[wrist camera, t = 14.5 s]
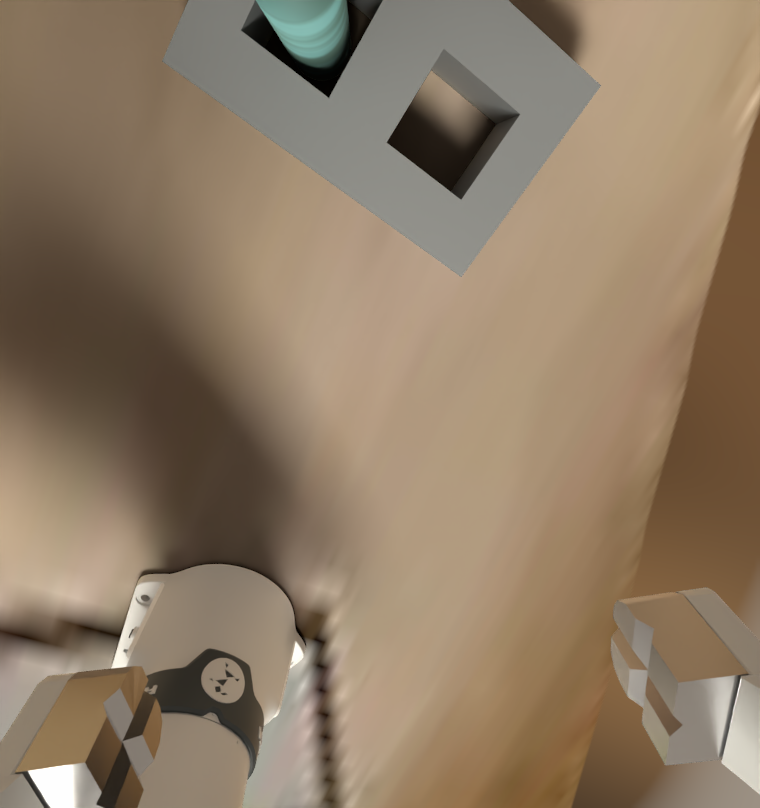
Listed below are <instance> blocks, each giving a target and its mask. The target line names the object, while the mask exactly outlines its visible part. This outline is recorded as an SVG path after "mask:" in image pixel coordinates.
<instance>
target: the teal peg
mask: <svg viewBox="0 0 760 808" xmlns="http://www.w3.org/2000/svg"><path fill="white" fill-rule="evenodd" d="M256 1H257V3H258V4H259V6H260V8H261V9H262V11H263V12H264V14H265V16H266V17H267V19H268V20H269V22H270V24H271V25H272V27H273V29H274V30H275V32H276V33H277V35H278V37H279V38H280V40H281V41H282V43H283V45H284V46H285V48H286V49H287V51H288V53H289V54H290V56H291V57H292V59H293V61H294V62H295V64H296V65H297V67H298V68H299V69H300V71H301V72H302V73H304V74H305V75H306V76H308V77H309V78H311V79H314V80H319V81H326V80H330V79H333V78H335V77H336V76H338V75H339V74H340V73H341V72H342V71H343V70H344V69H345V67H346V66H347V64H348V61H349V59H350V55H351V34H350V26H349V17H348V8H347V0H256Z"/></svg>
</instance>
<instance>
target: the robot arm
mask: <svg viewBox="0 0 760 808" xmlns="http://www.w3.org/2000/svg"><path fill="white" fill-rule="evenodd" d="M147 595H148V596H147ZM613 618H614V620H615V622H616V623H617V625H618V627H619V628H618V630H617V631H616V632H615V633H614V634H613V635H612V636H611V655H612V659H613V664H614V669H615V671H616V673H617V676H618V679H619V681H620V683H621V685H622V687H623V689H624V691H625V693H626V695H627V696H628V697H629V698H630V699H632V700H633V701H635V702H636V703H637V704H639V705H640V706H642V707H643V708H644V709H643V717H642V724H643V726H644V727H645V729H646V731H647V733H648V735H649V737H650V738H651V740H652V742H653V744H654V745H655V747H656V749H657V751H658V753H659V755H660V756H661V758H662V760H663V762H664V764H665V765H674V764H683V763H692V762H702V761H712V760H722V764H724V765H725V766H726V767H727V768H728V769H730V770H731V771H732V772H733V773H735V774H736V775H737V776H738V777H739V778H741V779H742V780H743V781H744V782H745V783H747V784H748V785H749V786H750V787H751V788H753V789H754V790H755V791H756V792H758V793H759V794H760V641H759V640H758V639H757V637H756V636H755V635H754V634H753V633H752V632H751V631H750V630H749V629H748V628H747V626H746V625H745V624H744V623H743V622H742V621H741V620H740V619H739V618H738V617H737V616H736V614H735V613H734V612H733V611H732V610H731V609H730V608H729V607H728V606H727V605H726V604H725V603H724V602H723V600H722V599H721V598H720V597H719V596H718V595H717V594H716V593H715V592H714V591H712V590H710V589H708V588H700V589H692V590H685V591H679V592H675V593H674V592H669V593H663V594H656V595H649V596H642V597H635V598H629V599H622V600H617V602H616V603H615V605H614V610H613ZM305 649H306V647H305V644H304V642H303V640H302V639H301V637H300V636H299V634H298V633H297V631H296V628H295V617H294V612H293V608H292V605H291V603H290V601H289V599H288V598H287V596H286V595H285V594H284V592H283V591H282V590H281V589H280V588H279V587H278V586H277V585H276V584H274V583H273V582H272V581H270V580H269V579H268V578H266V577H264V576H262V575H261V574H259V573H256V572H254V571H252V570H249V569H246V568H242V567H238V566H233V565H226V564H207V565H200V566H195V567H192V568H188V569H186V570H183V571H180V572H177V573H173V574H148V575H144V576H142V577H141V578H140V579H139V580H138V583H137V585H136V588H135V591H134V594H133V598H132V601H131V604H130V608H129V611H128V614H127V617H126V621H125V624H124V627H123V631H122V634H121V637H120V641H119V644H118V647H117V651H116V654H115V657H114V660H113V664H112V667H111V669H102V670H93V671H84V672H77V673H69V674H60V675H52V676H48V677H46V678H45V679H44V680H42V681H41V682H40V683H39V684H38V685H37V686H36V688H35V689H34V691H33V692H32V694H31V696H30V697H29V699H28V700H27V702H26V703H25V705H24V707H23V708H22V710H21V711H20V713H19V714H18V716H17V717H16V719H15V721H14V722H13V724H12V725H11V727H10V728H9V730H8V732H7V733H6V735H5V736H4V738H3V739H2V741H1V742H0V808H242V805H243V800H244V794H245V789H246V784H247V780H248V779H249V777H250V776H251V774H252V773H253V770H254V768H255V764H256V760H257V758H258V755H259V752H260V748H261V743H262V732H263V726H264V725H265V724H267V723H268V722H270V721H271V719H272V718H273V717H276V716H277V715H278V713H279V711H280V708H281V704H282V700H283V696H284V691H285V687H286V683H287V679H288V674H289V670H290V668H291V667H293V666H294V665H295V664H297V663H298V662H299V661H301V660H302V658H303V657H304V653H305Z"/></svg>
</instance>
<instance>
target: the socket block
mask: <svg viewBox="0 0 760 808" xmlns="http://www.w3.org/2000/svg"><path fill="white" fill-rule="evenodd" d="M348 1H349V2H350V3H351V4H353V5H354V6H355V7H356V8H357V9H359V10H360V11H361V12H362V13H363V14H365V15H366V16H367V17H368V18H369V19H371V20H372V21H371V23H370V24H369V26H368V28H367V30H366V32H365V33H364V35H363V37H362V39H361V41H360V42H359V44H358V46H357V48H356V50H355V51H354V53H353V55H352V57H351V59H350V61H349V62H348V64H347V66H346V68H345V70H344V71H343V73H342V75H341V77H340V79H339V80H338V82H337V84H336V86H335V88H334V89H333V91H332V93H331V95H330V97H329V98H328V97H327V96H326V95H324V94H323V93H322V92H320V91H319V90H318V89H316V88H315V87H314V86H313V85H311V84H310V83H309V82H307V81H306V80H305V79H303V78H302V77H301V76H300V75H298V74H297V73H296V72H294V71H293V70H292V69H290V68H289V67H288V66H287V65H285V64H284V63H283V62H281V61H280V60H279V59H277V58H276V57H275V56H274V55H272V54H271V53H270V52H268V51H267V50H266V49H265V48H266V46H267V44H268V42H269V40H270V38H271V35H272V33H273V31H274V29H273V27H272V25H271V24H270V22H269V20H268V19H267V17H266V16H265V14H264V12H263V11H262V9H261V8H260V6H259V4H258V3H257V1H256V0H188V3H187V5H186V7H185V9H184V12H183V14H182V16H181V19H180V21H179V23H178V26H177V28H176V30H175V33H174V35H173V37H172V40H171V42H170V44H169V47H168V49H167V51H166V54H165V56H164V58H163V62H164V63H165V64H167V65H168V66H169V67H171V68H172V69H174V70H175V71H176V72H178V73H179V74H181V75H182V76H183V77H185V78H186V79H188V80H189V81H190V82H192V83H193V84H194V85H196V86H197V87H199V88H200V89H201V90H203V91H204V92H206V93H207V94H208V95H210V96H211V97H212V98H214V99H215V100H217V101H218V102H219V103H221V104H222V105H224V106H225V107H226V108H228V109H229V110H230V111H232V112H233V113H235V114H236V115H237V116H239V117H240V118H242V119H243V120H244V121H246V122H247V123H248V124H250V125H251V126H253V127H254V128H255V129H257V130H258V131H260V132H261V133H262V134H264V135H265V136H266V137H268V138H269V139H271V140H272V141H273V142H275V143H276V144H278V145H279V146H280V147H282V148H283V149H285V150H286V151H287V152H289V153H290V154H291V155H293V156H294V157H296V158H297V159H298V160H300V161H301V162H303V163H304V164H305V165H307V166H308V167H309V168H311V169H312V170H314V171H315V172H316V173H318V174H319V175H321V176H322V177H323V178H325V179H326V180H327V181H329V182H330V183H332V184H333V185H334V186H336V187H337V188H339V189H340V190H341V191H343V192H344V193H345V194H347V195H348V196H350V197H351V198H352V199H354V200H355V201H357V202H358V203H359V204H361V205H362V206H363V207H365V208H366V209H368V210H369V211H370V212H372V213H373V214H375V215H376V216H377V217H379V218H380V219H382V220H383V221H384V222H386V223H387V224H388V225H390V226H391V227H393V228H394V229H395V230H397V231H398V232H400V233H401V234H402V235H404V236H405V237H406V238H408V239H409V240H411V241H412V242H413V243H415V244H416V245H418V246H419V247H420V248H422V249H423V250H424V251H426V252H427V253H429V254H430V255H431V256H433V257H434V258H436V259H437V260H438V261H440V262H441V263H442V264H444V265H445V266H447V267H448V268H449V269H451V270H452V271H454V272H455V273H456V274H458V275H459V276H460V277H462V276H463V274H464V273H465V271H466V270H467V269H468V267H469V266H470V265H471V263H472V262H473V260H474V259H475V258H476V256H477V255H478V254H479V252H480V251H481V249H482V248H483V247H484V245H485V244H486V243H487V241H488V240H489V238H490V237H491V236H492V234H493V233H494V232H495V230H496V229H497V228H498V226H499V225H500V223H501V222H502V221H503V219H504V218H505V217H506V215H507V214H508V212H509V211H510V210H511V208H512V207H513V206H514V204H515V203H516V201H517V200H518V199H519V197H520V196H521V195H522V193H523V192H524V191H525V189H526V188H527V186H528V185H529V184H530V182H531V181H532V180H533V178H534V177H535V175H536V174H537V173H538V171H539V170H540V169H541V167H542V166H543V164H544V163H545V162H546V160H547V159H548V158H549V156H550V155H551V154H552V152H553V151H554V149H555V148H556V147H557V145H558V144H559V143H560V141H561V140H562V138H563V137H564V136H565V134H566V133H567V132H568V130H569V129H570V127H571V126H572V125H573V123H574V122H575V121H576V119H577V118H578V116H579V115H580V114H581V112H582V111H583V110H584V108H585V107H586V106H587V104H588V103H589V101H590V100H591V99H592V97H593V96H594V95H595V93H596V92H597V90H598V89H599V88H600V86H601V85H600V84H599V83H598V82H596V81H595V80H594V79H593V78H592V77H591V76H590V75H589V74H588V73H587V72H586V71H585V70H583V69H582V68H581V67H580V66H579V65H578V64H577V63H576V62H575V61H574V60H573V59H572V58H570V57H569V56H568V55H567V54H566V53H565V52H564V51H563V50H562V49H561V48H560V47H559V46H557V45H556V44H555V43H554V42H553V41H552V40H551V39H550V38H549V37H548V36H547V35H545V34H544V33H543V32H542V31H541V30H540V29H539V28H538V27H537V26H536V25H535V24H534V23H532V22H531V21H530V20H529V19H528V18H527V17H526V16H525V15H524V14H523V13H522V12H521V11H519V10H518V9H517V8H516V7H515V6H514V5H513V4H512V3H511V2H510V1H509V0H348ZM431 70H432V71H433V72H434V73H435V74H436V75H438V76H439V77H440V78H441V79H442V80H444V81H445V82H446V83H447V84H448V85H450V86H451V87H452V88H453V89H454V90H456V91H457V92H458V93H459V94H460V95H462V96H463V97H464V98H465V99H466V100H468V101H469V102H470V103H471V104H472V105H474V106H475V107H476V108H477V109H478V110H480V111H481V112H482V113H483V114H484V115H486V116H487V117H488V118H489V119H490V120H492V121H493V122H494V123H495V124H496V125H495V127H494V128H493V130H492V131H491V133H490V134H489V136H488V137H487V139H486V140H485V141H484V143H483V144H482V146H481V147H480V149H479V150H478V152H477V153H476V155H475V156H474V158H473V159H472V161H471V162H470V164H469V165H468V167H467V168H466V170H465V171H464V172H463V174H462V175H461V177H460V178H459V180H458V181H457V183H456V184H455V186H454V187H453V189H452V190H451V192H450V191H449V190H448V189H446V188H445V187H444V186H442V185H441V184H440V183H439V182H437V181H436V180H435V179H433V178H432V177H431V176H429V175H428V174H427V173H426V172H424V171H423V170H422V169H420V168H419V167H418V166H416V165H415V164H414V163H413V162H411V161H410V160H409V159H407V158H406V157H405V156H403V155H402V154H401V153H400V152H398V151H397V150H396V149H394V148H393V147H392V146H390V145H389V144H388V143H387V141H388V140H389V138H390V136H391V135H392V133H393V132H394V130H395V128H396V127H397V125H398V123H399V122H400V120H401V118H402V117H403V115H404V114H405V112H406V110H407V109H408V107H409V105H410V104H411V102H412V100H413V99H414V97H415V96H416V94H417V92H418V91H419V89H420V87H421V86H422V84H423V82H424V81H425V79H426V77H427V76H428V74H429V73H430V71H431Z"/></svg>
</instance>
